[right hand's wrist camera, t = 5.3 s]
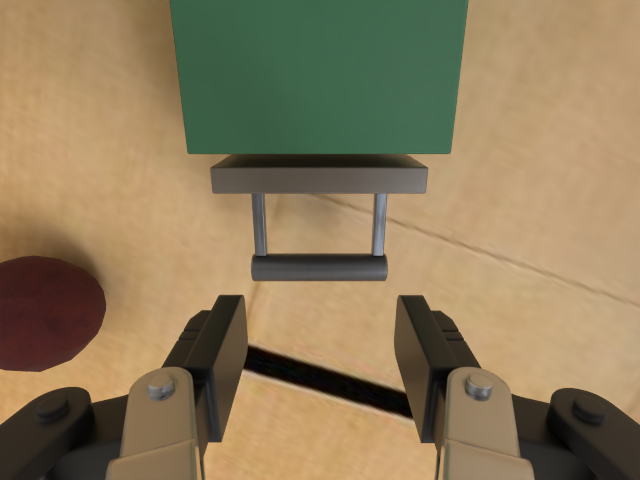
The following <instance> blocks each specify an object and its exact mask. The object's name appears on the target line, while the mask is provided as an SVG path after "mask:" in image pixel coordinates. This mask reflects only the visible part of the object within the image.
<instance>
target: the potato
mask: <svg viewBox="0 0 640 480" xmlns="http://www.w3.org/2000/svg"><path fill="white" fill-rule="evenodd" d="M105 311H106V301H105V296H104V291H103V289H102V288H101V286H100V285H99V284H98V282H97V281H96V279H95V278H93V277H92V276H91V275H90V274H88V273H87V272H86V271H85V270H83V269H81V268H79V267H76V266H74V265H72V264H70V263H67V262H65V261H62V260H59V259H55V258H47V257H39V256H27V257H20V258H16V259H13V260H9V261H5V262H2V263H0V369H3V370H10V371H31V372H41V371H44V370H46V369H49V368H52V367H54V366H57V365H59V364H62V363H64V362H67V361H70V360H72V359H73V358H74V357H75V356H76V355H77V354H78V353H79V352H80V351H82V350H83V349H84V348H85V347H86V346H87V345H88V343H89V342H90V341H91V340H92V339H93V338H94V337H95V336H96V335H97V333H98V331H99V329H100V327H101V325H102V322H103V318H104V315H105Z"/></svg>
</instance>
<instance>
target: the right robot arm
mask: <svg viewBox="0 0 640 480" xmlns="http://www.w3.org/2000/svg"><path fill="white" fill-rule="evenodd" d="M247 346H248V336H247V323H246V309H245V299H244V296H243V295H219V296H218V298H217V300H216V302H215V304H214V306H213V308H212V310H202V311H200V312H199V313H198V314H196V315H195V316H194V317H192V318H191V319H190V320H189V322H188V323H187V325H186V327H185V328H184V332H182V334H181V335H180V337H179V340H178V341H177V342H176V344H175V345H174V347H173V349H172V350H171V352H170V354H169V355H168V357H167V359H166V360H165V362H164V364H163V366H162V367H161V368H160V369H156V370H153V371H151V372H149V373H147V374H145V375H143V376H142V377H141V378H139V379H138V380H137V381H136V382H135V383H134V384H133V385H132V387H131V389H130V391H129V394H128V395H125V396H121V397H117V398H112V399H108V400H104V401H99V402H95V403H92V402H91V398H90V395H89V393H88V392H87V390H85V389H83V388H79V387H66V388H60V389H56V390H53V391H50V392H48V393H45V394H43V395H41V396H39V397H37V398H36V399H34V400H32V401H31V402H30V403H28V404H27V405H26V406H24V407H23V408H22V409H20V410H19V411H18V412H16V413H15V414H14V415H13V416H11V417H10V418H9V419H7V420H6V421H5V422H4V423H2V424H1V425H0V480H206V476H205V464H204V457H203V456H204V454H205V451H206V448H207V445H208V442H222V439H223V435H224V432H225V428H226V425H227V421H228V418H229V414H230V411H231V408H232V404H233V401H234V397H235V394H236V390H237V387H238V383H239V380H240V376H241V373H242V369H243V366H244V362H245V359H246V355H247ZM394 349H395V356H396V360H397V363H398V366H399V370H400V373H401V377H402V380H403V383H404V387H405V390H406V394H407V397H408V400H409V404H410V407H411V411H412V414H413V417H414V421H415V424H416V428H417V431H418V434H419V438H420V441H421V443H435V446H436V449H437V457H436V464H435V476H434V480H640V425H639V424H638V423H636V422H635V421H634V420H633V419H631V418H630V417H629V416H627V415H626V414H625V413H624V412H622V411H621V410H620V409H618V408H617V407H616V406H614V405H613V404H612V403H610V402H609V401H607V400H606V399H604V398H602V397H600V396H598V395H596V394H593V393H591V392H588V391H585V390H580V389H575V388H563V389H559V390H557V391H555V392H554V393H553V394H552V397H551V400H550V403H545V402H541V401H537V400H532V399H528V398H523V397H520V396H516V395H514V394H511V391H510V389H509V387H508V385H507V384H506V383H505V382H504V381H503V380H502V379H501V378H499V377H498V376H497V375H495V374H493V373H491V372H489V371H487V370H484V369H482V368H481V367H480V365H479V363H478V362H477V360H476V358H475V357H474V355H473V353H472V352H471V350H470V348H469V347H468V345H467V343H466V342H465V341H464V338H463V337H462V335H461V333H460V332H459V330H458V328H457V327H456V325H455V323H454V322H453V320H452V319H451V318H449V317H448V316H447V315H445V314H444V313H443V312H441V311H431V310H430V308H429V306H428V304H427V302H426V300H425V298H424V297H423V296H422V295H399V296H398V299H397V308H396V321H395V334H394Z"/></svg>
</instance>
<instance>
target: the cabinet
mask: <svg viewBox="0 0 640 480" xmlns="http://www.w3.org/2000/svg"><path fill="white" fill-rule="evenodd" d="M170 8H171V16H172V25H173V33H174V42H175V50H176V59H177V67H178V76H179V84H180V93H181V101H182V110H183V118H184V127H185V135H186V144H187V152H188V153H189V154H450V153H451V146H452V138H453V129H454V120H455V112H456V103H457V94H458V86H459V77H460V68H461V60H462V51H463V43H464V34H465V25H466V17H467V8H468V0H170Z"/></svg>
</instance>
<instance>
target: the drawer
mask: <svg viewBox="0 0 640 480" xmlns="http://www.w3.org/2000/svg"><path fill="white" fill-rule="evenodd" d="M210 171H211V181H212V191H213V193H214V194H252V209H253V224H254V240H255V254H253V257H252V262H251V274H252V279H253V281H385V280H386V278H387V272H388V265H387V257H386V255H385V254H383V253H384V237H385V220H386V204H387V193H426V186H427V176H428V167H426V166H425V165H423V164H421V163H420V162H418V161H417V160H415V159H413V158H412V157H410V156H409V155H407V154H232V155H230V156H229V157H227V158H225V159H224V160H222V161H221V162H219V163H217V164H216V165H214V166H213V167H211V168H210ZM353 193H374V209H373V229H372V249H371V252H372V254H267V233H266V214H265V194H353Z"/></svg>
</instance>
